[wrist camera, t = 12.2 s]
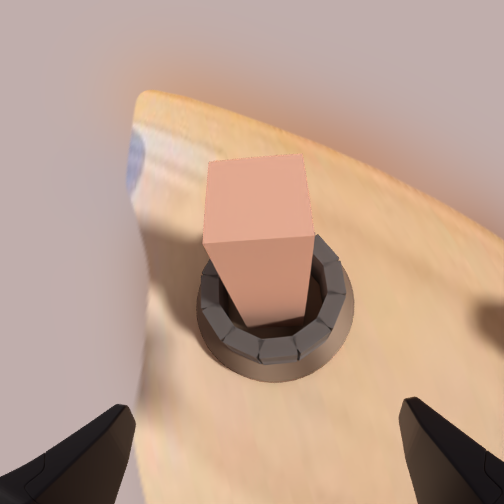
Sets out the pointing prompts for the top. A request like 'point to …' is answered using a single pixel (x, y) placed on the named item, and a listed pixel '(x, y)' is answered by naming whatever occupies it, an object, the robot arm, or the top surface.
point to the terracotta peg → (261, 236)
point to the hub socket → (280, 338)
